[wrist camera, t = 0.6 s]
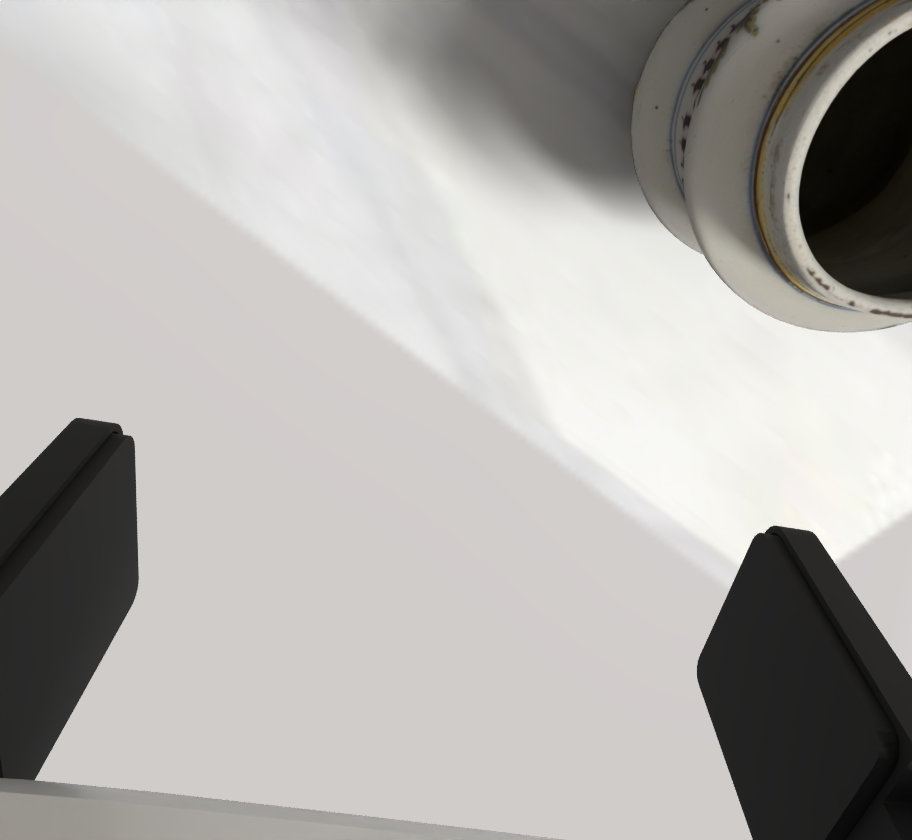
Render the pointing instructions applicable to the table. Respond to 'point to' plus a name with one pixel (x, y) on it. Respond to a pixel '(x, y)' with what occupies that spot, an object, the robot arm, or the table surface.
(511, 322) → the table surface
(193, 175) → the table surface
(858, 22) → the apothecary jar
